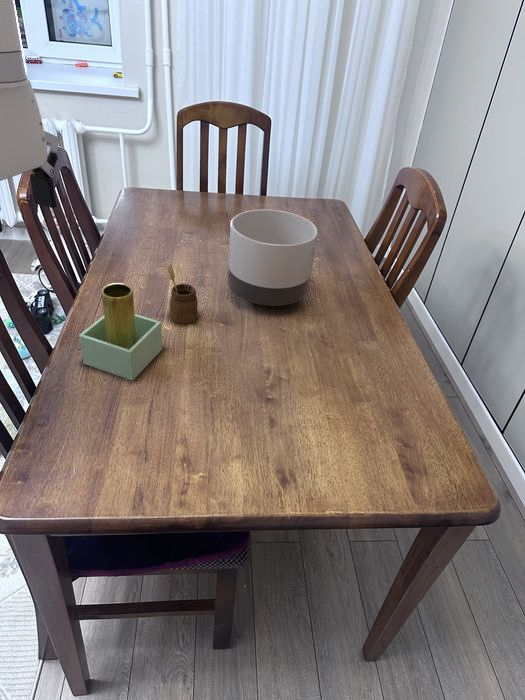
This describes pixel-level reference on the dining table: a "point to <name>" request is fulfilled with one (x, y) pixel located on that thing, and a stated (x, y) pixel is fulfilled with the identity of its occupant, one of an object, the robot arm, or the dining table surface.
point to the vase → (119, 315)
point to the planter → (270, 256)
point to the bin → (117, 357)
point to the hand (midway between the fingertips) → (20, 217)
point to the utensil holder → (182, 301)
